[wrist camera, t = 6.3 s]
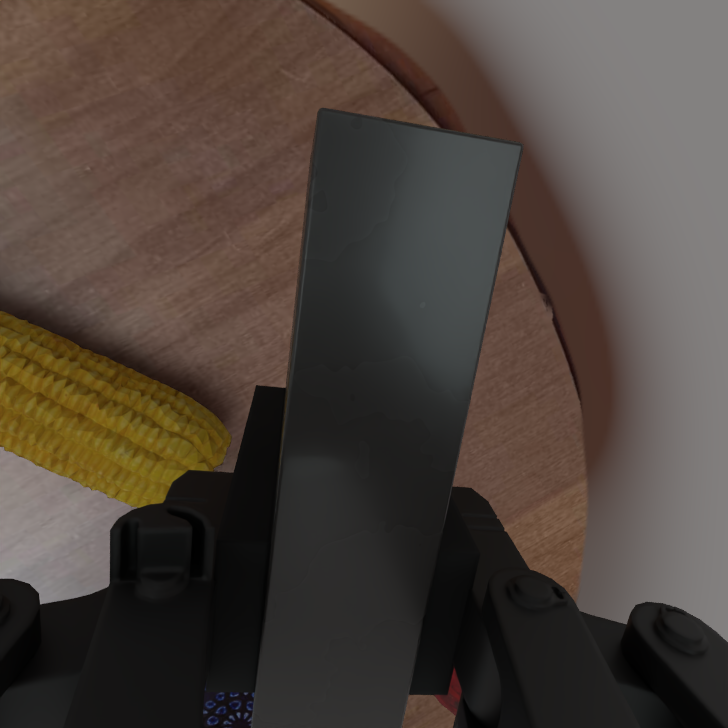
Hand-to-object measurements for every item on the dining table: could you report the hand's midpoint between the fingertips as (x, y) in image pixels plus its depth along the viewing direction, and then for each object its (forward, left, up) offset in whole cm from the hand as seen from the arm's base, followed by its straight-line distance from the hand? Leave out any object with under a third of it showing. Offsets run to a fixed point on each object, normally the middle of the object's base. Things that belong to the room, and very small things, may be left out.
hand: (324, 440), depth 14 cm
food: (+4, -14, -15) cm, 20 cm away
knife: (+5, 0, 0) cm, 5 cm away
